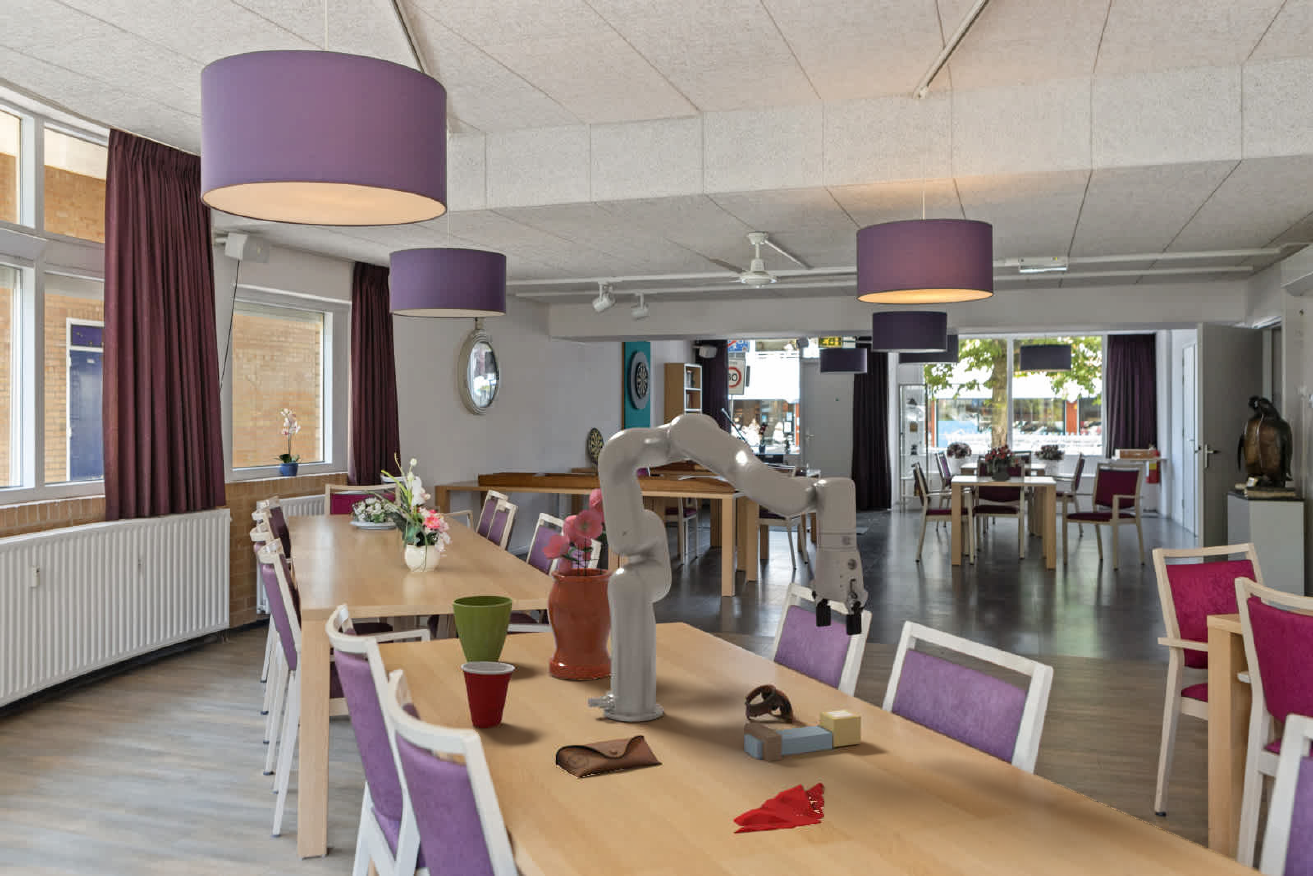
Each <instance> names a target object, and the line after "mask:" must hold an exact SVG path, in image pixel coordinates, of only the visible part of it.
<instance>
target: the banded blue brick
mask: <svg viewBox="0 0 1313 876" xmlns="http://www.w3.org/2000/svg"><path fill="white" fill-rule="evenodd" d="M743 729H744V733H743V734H744V735H743V739H744V741H743V742H744V744H743V745H744V746H743V748H744V750H743V751H745V753H747V754H748V755H750V756H751V757H753V758H755V759H757V760H758V759H759V760H761V759H763V760H764V761H765V762H775V761H782V758H783V757H782V756H788V755H789V756H790V755H795V754H804V753H811V752H819V751H825V750H826V751H827V750H832V749H833V746H832V732H831V731H829V730H827V729H825V728H823V727H821V726H820V724H817V725H813V726H803V727H796V728H795V727H794V728H788V729H787V728H786V729H778V730H773V729H772V728H769V727H768V726H766V725H764V724H763V723H761V722H759V721H755V722H748V723H744V728H743Z"/></svg>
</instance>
